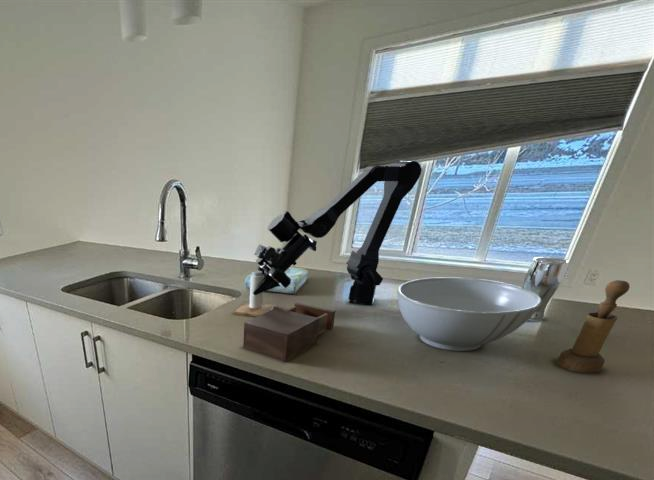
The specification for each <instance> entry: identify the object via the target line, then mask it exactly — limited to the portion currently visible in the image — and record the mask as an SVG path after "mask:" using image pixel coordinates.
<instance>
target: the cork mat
mask: <svg viewBox="0 0 654 480" xmlns="http://www.w3.org/2000/svg"><path fill="white" fill-rule="evenodd" d="M275 308H276V304H268V303H262V307H261V308H250V307H249V301H245V302H244V303H243V304H242V305H240V306H239V307H238V308H237V309H235V311H234V314H233V315H240V316H249V317H257V316H260V315H262V314H264V313H266V312H268V311H271V310H273V309H275Z"/></svg>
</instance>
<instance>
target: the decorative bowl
mask: <svg viewBox="0 0 654 480" xmlns="http://www.w3.org/2000/svg"><path fill="white" fill-rule="evenodd" d="M396 298H397V303H398V307H399V311H400V313H401V316H402V317H403V319H404V321H405V323H406V324H407V325H408V326H409V327H410V329H411V330H412V331H413V332H415V333H416V334H418V335H419V338H420V340H421V341H422V342H423V343H425V344H426V345H429V346H431V347H434V348H438V349H442V350H445V351H446V350H447V351H456V352H465V351H466V352H467V351H475V350H477V349H479V348H480V347H481V346H482V345H485V344H489V343H492V342H496V341H497V340H500V339H502V338H505V337H506V336H508V335H510V334H512V333H513V332H515V331H516V330H518V329H519V328H520V327H522V326H523V325H524V324H525V323H527V320H528V319H529V318H530V317H531V316H532V315H533V314H534V313H535V312H536V311H537V310H538V308H539V307H540V305H541V303H542V300H541V298H540V297H539V296H538V295H537V294H535V293H534V292H532V291H529V290H527V289H524V288H523V287H521V286H518V285H515V284H511V283H506V282H502V281H496V280H489V279H480V278H471V277H457V276H456V277H454V276H453V277H452V276H451V277H449V276H448V277H447V276H446V277H445V276H442V277H425V278H417V279H413V280H409V281H406V282H404V283H402V284H400V285H399V286H398V288H397V290H396Z"/></svg>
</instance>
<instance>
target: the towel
mask: <svg viewBox="0 0 654 480" xmlns="http://www.w3.org/2000/svg"><path fill="white" fill-rule="evenodd" d="M256 271H258V269H257V270H256ZM285 273H286V275H287V276H288V277H289V278H290V279H291V284H290V285H289V286H288V287H287V288H285V287H283V286H282V284H281V283H279V285H280V286H278V287H275V288H272V289H269V290H267V291H266V292H271V293H280V294H290V295H294V294H297V292H298V291H299V289H300V288H301V287H302V286H303V285H304V284H305V283H306V282H307V280H308V276H307V275H308V273H309V271H308V270H307V269H305V268H302V267H294V266H290V267H289V268H288V269H287V270H286V271H285ZM251 274H253V272H251V273H250V274H248V276H246V278H245V280H244V287H245V288H246V289H249V288H250V277H251Z"/></svg>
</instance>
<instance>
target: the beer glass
mask: <svg viewBox="0 0 654 480" xmlns="http://www.w3.org/2000/svg"><path fill="white" fill-rule="evenodd" d="M569 262H570V260H569V259H567V258H563V257H554V256H538V257H537V256H536V257H534V258H533V259H532V261H531V264H530V266H529V268H528V269H527V271H526V274H525V276H524V280H523V285H522V288H524V289H527V290H529V291H532V292H534V293H535V294H537V295H538V296H539V297H540V298H541V300H542V303H541V305H540V307H539V308H538V310H537V311H536V312H535V313H534V314H533V315H532V316H531V317H530V318H529V319H528V320H527V321H530V322H538V321H539V322H540V321H542V320H544V317H545V311H546V308H547V306H548V303H549V302H550V301H551V299H552V298H553V296H554V295H555V293H556V292H557V291H558V289H559V287H560V285H561V284H562V281H563V280H564V276H565V274H566V271H567V269H568V267H569V266H568V265H569ZM527 321H526V322H527Z"/></svg>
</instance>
